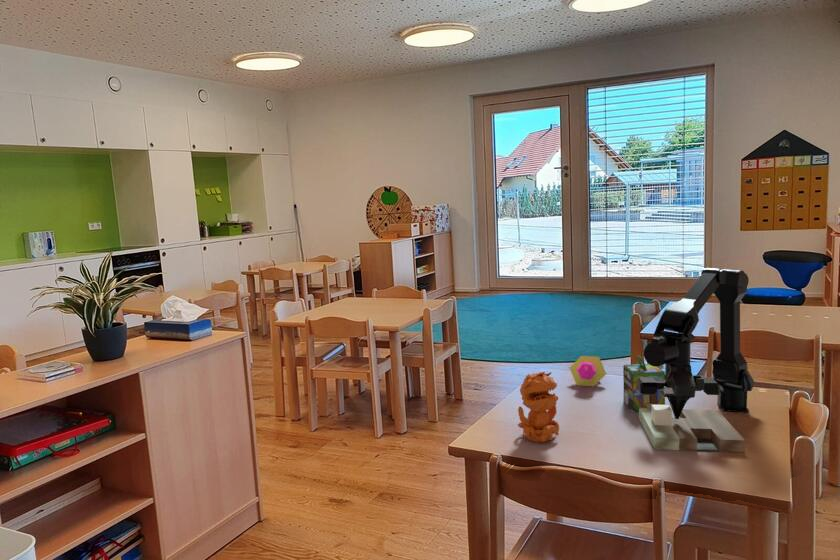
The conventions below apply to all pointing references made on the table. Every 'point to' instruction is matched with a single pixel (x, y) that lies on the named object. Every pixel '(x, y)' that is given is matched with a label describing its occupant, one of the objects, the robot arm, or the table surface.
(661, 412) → the cream block
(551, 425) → the toy dinosaur
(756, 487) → the table surface
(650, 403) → the chalk box
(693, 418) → the board
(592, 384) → the toy
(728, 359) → the robot arm
